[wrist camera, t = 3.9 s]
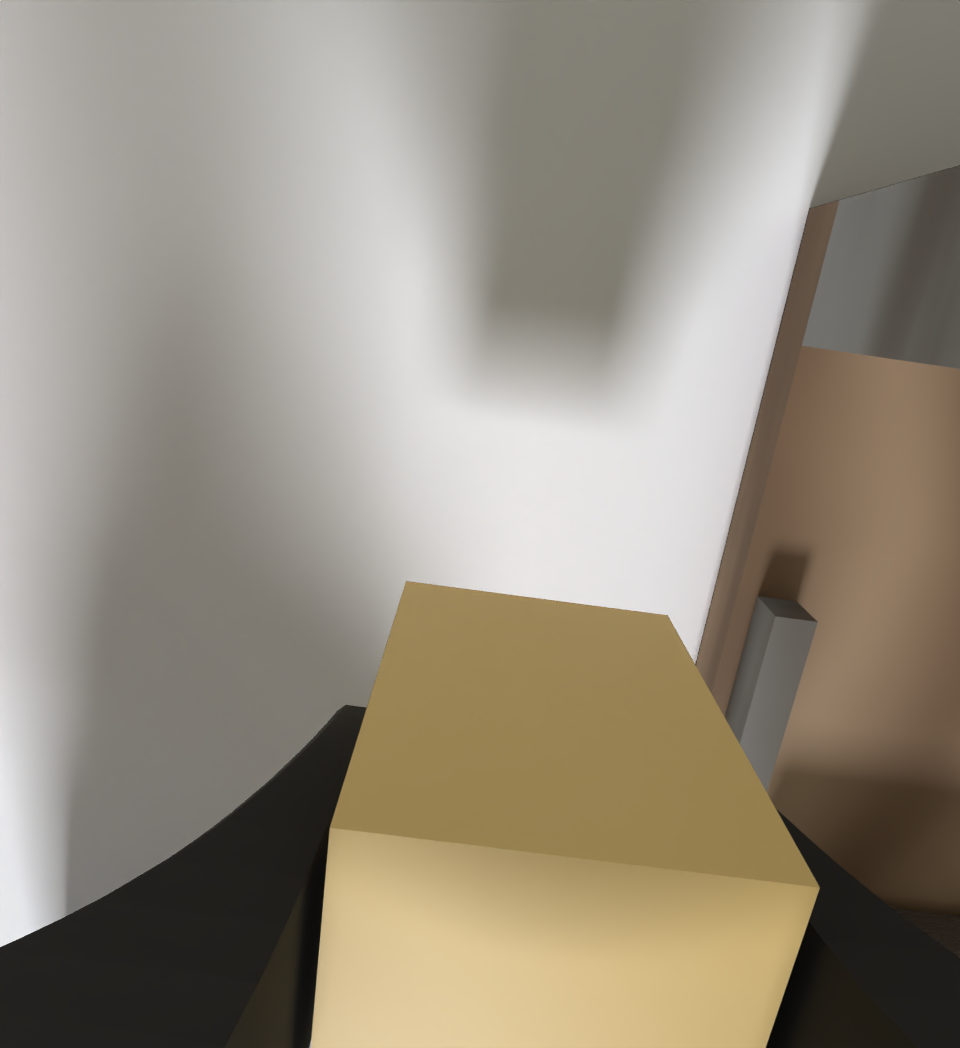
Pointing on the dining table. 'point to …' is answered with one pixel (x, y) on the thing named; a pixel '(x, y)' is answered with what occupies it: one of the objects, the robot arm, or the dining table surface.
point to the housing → (551, 843)
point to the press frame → (856, 549)
